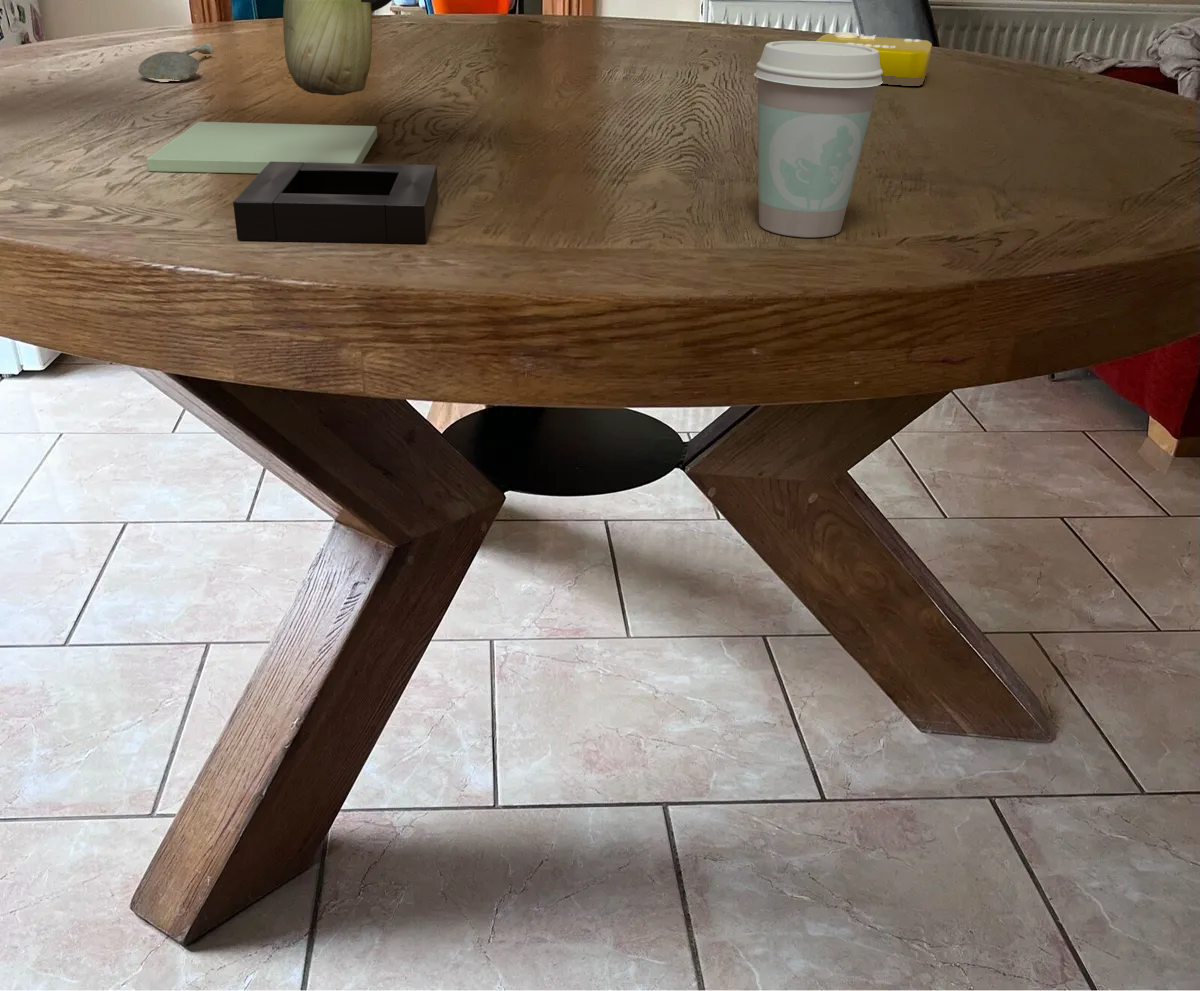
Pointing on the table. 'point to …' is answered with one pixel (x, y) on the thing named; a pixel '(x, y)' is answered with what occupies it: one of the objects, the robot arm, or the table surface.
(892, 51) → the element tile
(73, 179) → the table surface
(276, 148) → the board
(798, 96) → the coffee cup
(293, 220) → the frame
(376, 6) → the robot arm
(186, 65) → the soupspoon
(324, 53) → the fennel bulb
